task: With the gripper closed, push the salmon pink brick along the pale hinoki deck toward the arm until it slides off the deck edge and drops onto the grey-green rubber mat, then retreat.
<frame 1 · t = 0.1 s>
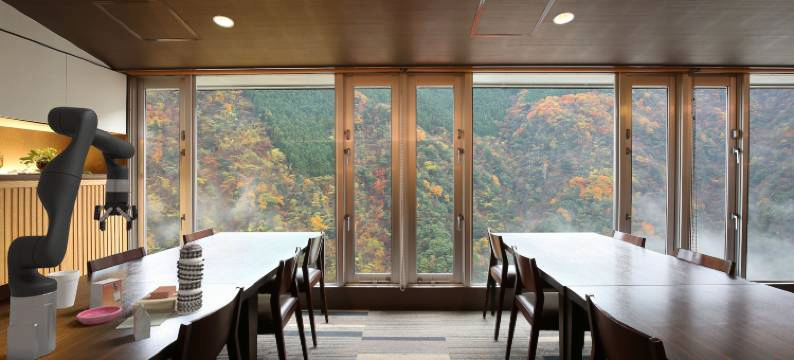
hand: (115, 230, 144), 29 cm above the table, fingers open, 8 cm apart
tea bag: (141, 336, 113), on the table
salmon pink brick: (163, 295, 142), point 4 cm above the table, touching deck
decorative candle: (189, 311, 136), on the table
mat: (145, 320, 125), on the table
deck: (160, 307, 139), on the table
saucer: (99, 320, 126), on the table
small box: (105, 308, 138), on the table
foam cup: (62, 306, 139), on the table
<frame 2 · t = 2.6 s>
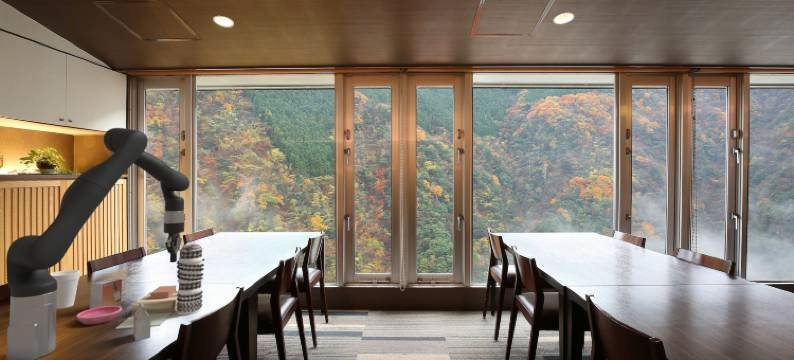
hand: (173, 261, 152), 15 cm above the table, fingers closed
nothing on the table moved.
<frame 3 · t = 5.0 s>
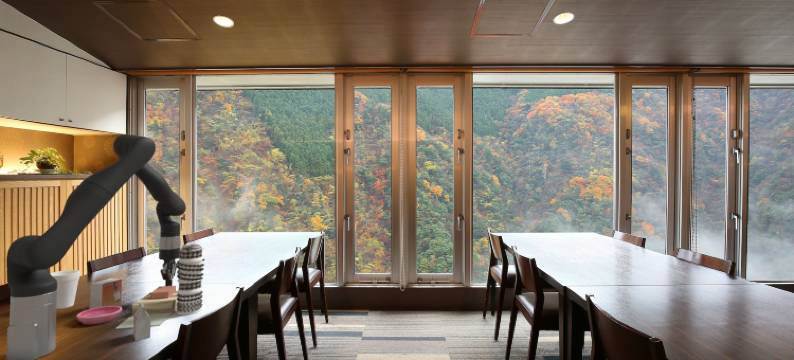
hand: (168, 288, 148), 5 cm above the table, fingers closed
salmon pink brick: (163, 295, 142), point 4 cm above the table, touching gripper
everything else where it was.
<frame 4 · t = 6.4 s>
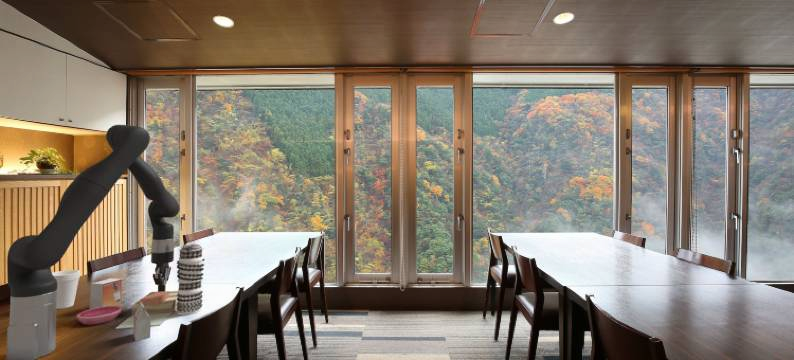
hand: (161, 294, 140), 5 cm above the table, fingers closed
salmon pink brick: (155, 301, 134), point 4 cm above the table, touching deck, gripper
everything else where it was.
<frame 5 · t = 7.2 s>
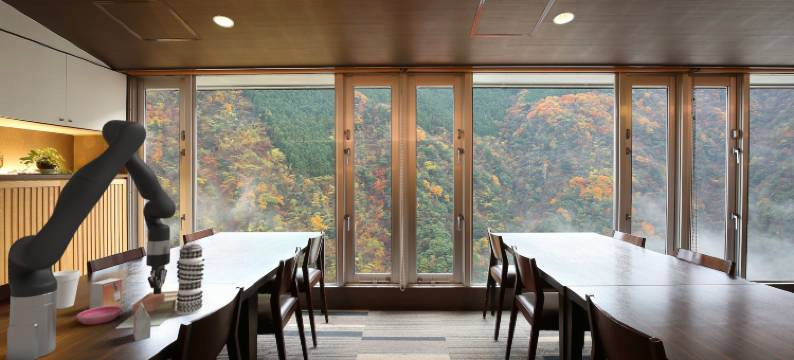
hand: (157, 297, 136), 5 cm above the table, fingers closed
salmon pink brick: (149, 305, 130), point 4 cm above the table, tilted 7°, touching gripper
everything else where it was.
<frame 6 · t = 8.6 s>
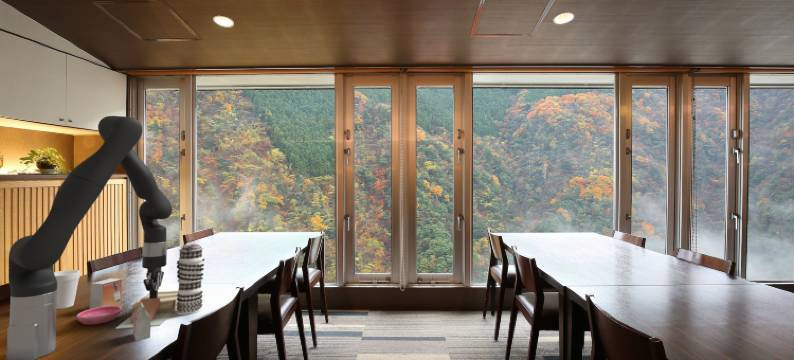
hand: (153, 300, 132), 5 cm above the table, fingers closed
salmon pink brick: (146, 312, 127), point 2 cm above the table, tilted 25°, touching deck, gripper, mat
everything else where it was.
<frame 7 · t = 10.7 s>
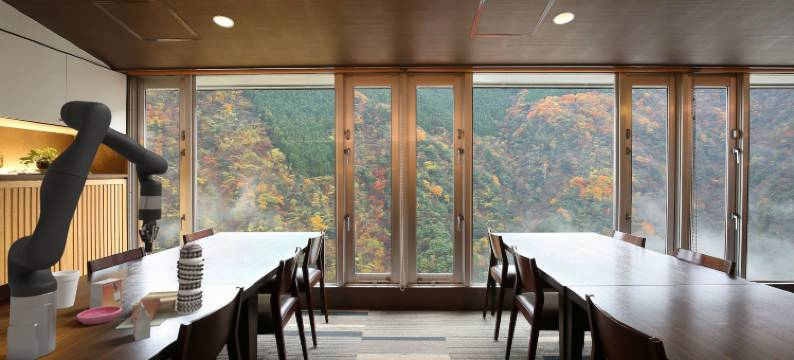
hand: (148, 252, 138), 22 cm above the table, fingers closed
salmon pink brick: (146, 312, 127), point 2 cm above the table, tilted 25°, touching deck, mat
everything else where it was.
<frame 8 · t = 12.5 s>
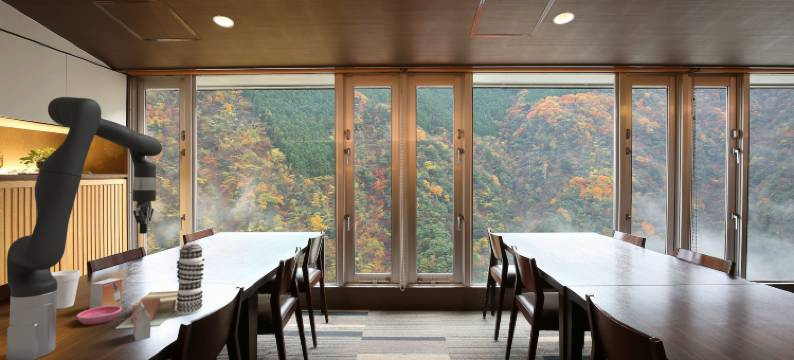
hand: (143, 233, 139), 29 cm above the table, fingers closed
nothing on the table moved.
at the end: salmon pink brick inside the target area on the mat (2.3 cm from its centre), point 2.2 cm above the mat's base; salmon pink brick point 2.2 cm above the table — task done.
